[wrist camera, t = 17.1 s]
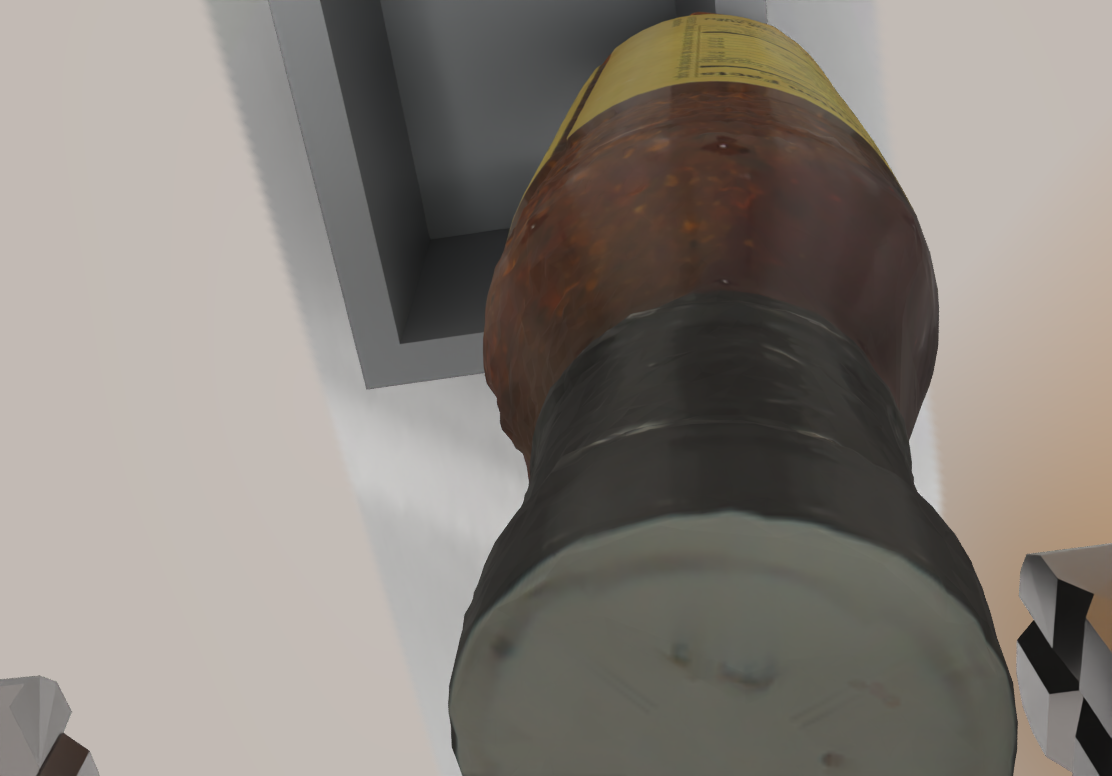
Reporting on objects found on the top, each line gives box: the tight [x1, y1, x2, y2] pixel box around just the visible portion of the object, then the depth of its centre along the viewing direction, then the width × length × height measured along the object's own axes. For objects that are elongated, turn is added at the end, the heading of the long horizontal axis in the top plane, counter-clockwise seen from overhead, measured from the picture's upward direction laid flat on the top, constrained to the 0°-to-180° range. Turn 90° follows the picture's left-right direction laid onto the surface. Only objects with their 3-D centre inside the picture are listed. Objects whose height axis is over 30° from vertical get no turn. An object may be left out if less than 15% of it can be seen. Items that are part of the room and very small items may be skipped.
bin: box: [268, 0, 767, 389], centre depth 31 cm, size 12×12×10 cm
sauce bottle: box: [448, 12, 1018, 776], centre depth 16 cm, size 7×6×20 cm
